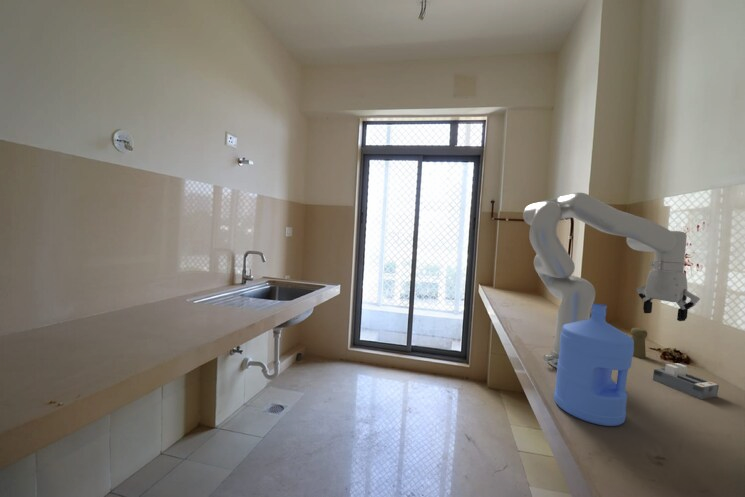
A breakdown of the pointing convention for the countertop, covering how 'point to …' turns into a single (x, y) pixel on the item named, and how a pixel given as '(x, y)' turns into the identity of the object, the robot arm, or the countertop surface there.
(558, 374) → the water jug
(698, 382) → the switch block
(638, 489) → the countertop surface
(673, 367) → the inner tab
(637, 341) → the cork
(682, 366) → the outer tab
